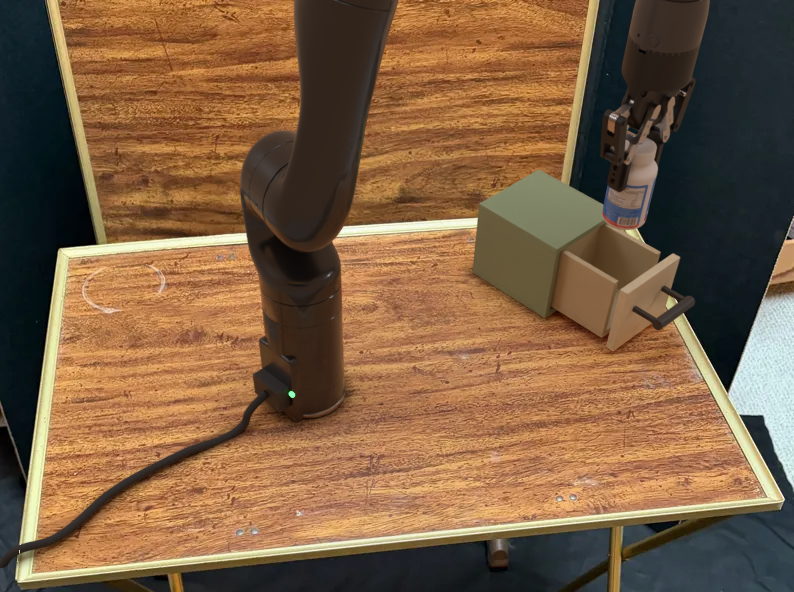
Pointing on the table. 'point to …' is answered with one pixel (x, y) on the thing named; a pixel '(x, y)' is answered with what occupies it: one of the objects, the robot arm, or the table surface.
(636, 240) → the drawer
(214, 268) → the table surface
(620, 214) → the pill bottle
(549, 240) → the cabinet
